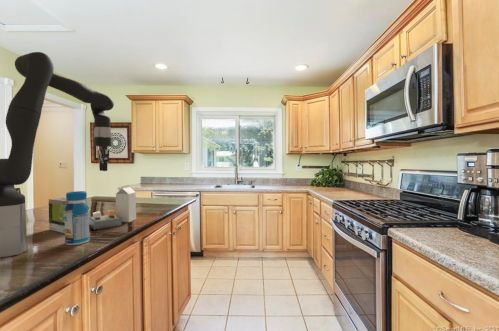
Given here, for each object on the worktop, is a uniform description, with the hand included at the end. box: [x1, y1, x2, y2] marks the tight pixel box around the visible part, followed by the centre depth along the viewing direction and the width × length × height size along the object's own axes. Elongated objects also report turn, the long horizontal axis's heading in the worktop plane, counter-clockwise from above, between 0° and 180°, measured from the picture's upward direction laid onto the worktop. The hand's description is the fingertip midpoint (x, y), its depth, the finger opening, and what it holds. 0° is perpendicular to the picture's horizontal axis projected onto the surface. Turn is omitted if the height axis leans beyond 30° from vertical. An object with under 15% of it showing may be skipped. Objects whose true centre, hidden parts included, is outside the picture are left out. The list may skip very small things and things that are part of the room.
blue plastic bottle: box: [64, 190, 91, 246], centre depth 104 cm, size 8×8×20 cm
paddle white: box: [92, 210, 103, 218], centre depth 130 cm, size 4×3×2 cm
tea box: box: [48, 196, 87, 234], centre depth 124 cm, size 15×10×15 cm, turn 58°
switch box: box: [89, 214, 122, 231], centre depth 132 cm, size 14×12×4 cm
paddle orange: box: [106, 209, 116, 215], centre depth 134 cm, size 4×3×2 cm
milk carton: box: [115, 184, 137, 223], centre depth 141 cm, size 7×7×19 cm
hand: (103, 170), depth 132 cm, fingers open, 5 cm apart
